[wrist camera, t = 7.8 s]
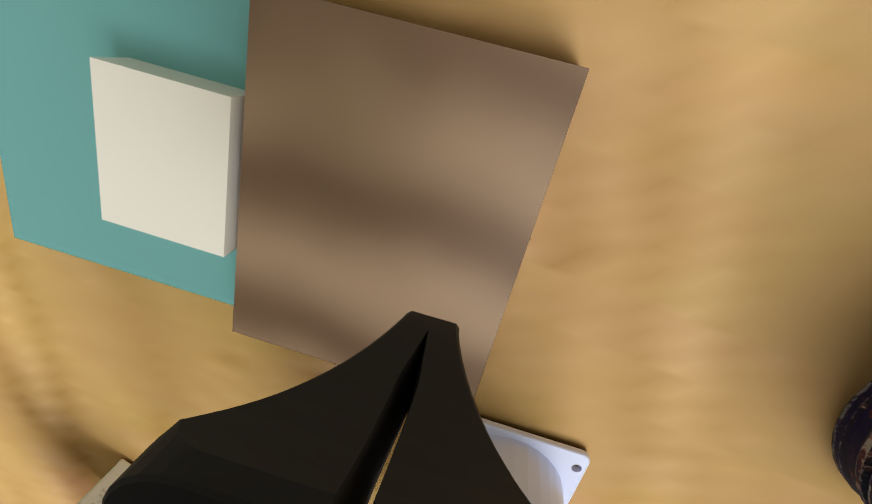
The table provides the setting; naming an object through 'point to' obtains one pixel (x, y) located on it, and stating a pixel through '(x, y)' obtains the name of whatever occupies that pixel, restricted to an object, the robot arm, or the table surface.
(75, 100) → the teal mat
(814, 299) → the table surface
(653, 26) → the table surface
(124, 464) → the skincare box
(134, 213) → the ceramic tile
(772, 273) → the table surface
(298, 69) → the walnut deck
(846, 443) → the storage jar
